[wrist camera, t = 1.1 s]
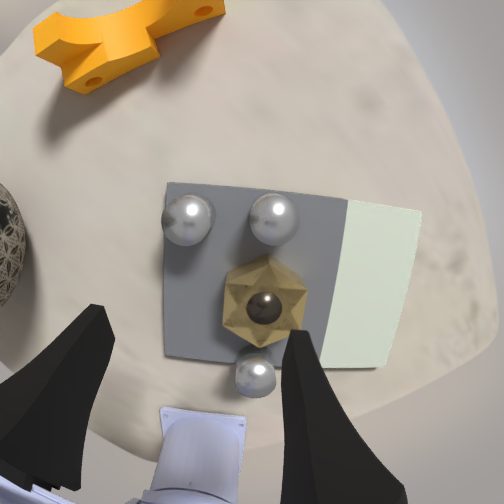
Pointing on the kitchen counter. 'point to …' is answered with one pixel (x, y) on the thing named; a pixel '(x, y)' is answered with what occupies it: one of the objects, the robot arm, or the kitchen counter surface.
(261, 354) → the cylinder
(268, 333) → the brass nut
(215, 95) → the kitchen counter surface
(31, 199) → the kitchen counter surface
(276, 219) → the cylinder
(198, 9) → the pipe clamp
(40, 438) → the robot arm
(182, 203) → the cylinder
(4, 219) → the decorative egg
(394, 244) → the board
